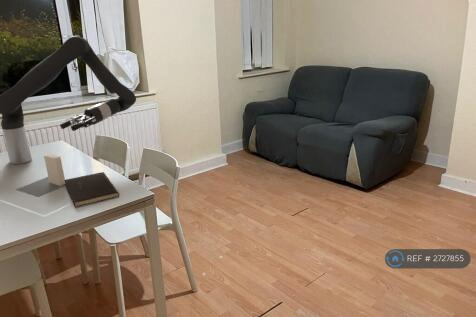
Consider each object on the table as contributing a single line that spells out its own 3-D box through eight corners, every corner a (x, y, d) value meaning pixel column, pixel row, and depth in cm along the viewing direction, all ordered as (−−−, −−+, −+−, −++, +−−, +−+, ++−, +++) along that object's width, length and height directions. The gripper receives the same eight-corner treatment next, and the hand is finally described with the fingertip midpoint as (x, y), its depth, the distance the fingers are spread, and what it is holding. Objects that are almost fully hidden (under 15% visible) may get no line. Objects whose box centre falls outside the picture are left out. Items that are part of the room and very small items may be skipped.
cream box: (49, 182, 159) (43, 155, 154) (54, 180, 161) (49, 153, 157) (60, 185, 155) (54, 158, 151) (65, 183, 157) (60, 156, 153)
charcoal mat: (15, 190, 153) (15, 189, 153) (49, 177, 165) (48, 176, 165) (38, 198, 146) (38, 197, 146) (71, 183, 158) (71, 182, 158)
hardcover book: (75, 207, 138) (74, 202, 137) (65, 185, 156) (64, 179, 155) (119, 197, 146) (118, 191, 145) (104, 176, 164) (104, 171, 163)
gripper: (86, 104, 173) (54, 118, 162) (104, 106, 165) (72, 121, 154) (91, 119, 177) (60, 134, 166) (110, 122, 168) (78, 137, 157)
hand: (66, 127), depth 160 cm, fingers open, 8 cm apart
